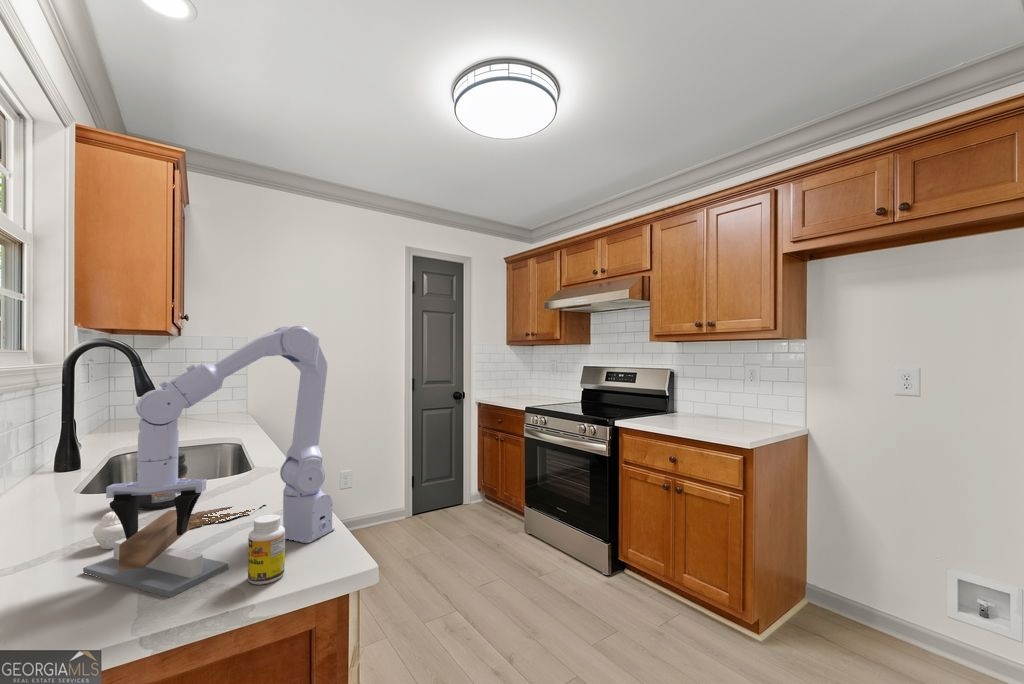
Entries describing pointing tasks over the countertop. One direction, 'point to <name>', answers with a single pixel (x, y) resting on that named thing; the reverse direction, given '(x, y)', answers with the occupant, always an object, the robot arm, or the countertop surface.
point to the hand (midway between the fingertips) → (157, 535)
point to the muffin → (109, 531)
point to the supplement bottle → (266, 550)
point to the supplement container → (164, 499)
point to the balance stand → (160, 571)
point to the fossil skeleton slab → (210, 517)
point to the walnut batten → (149, 542)
